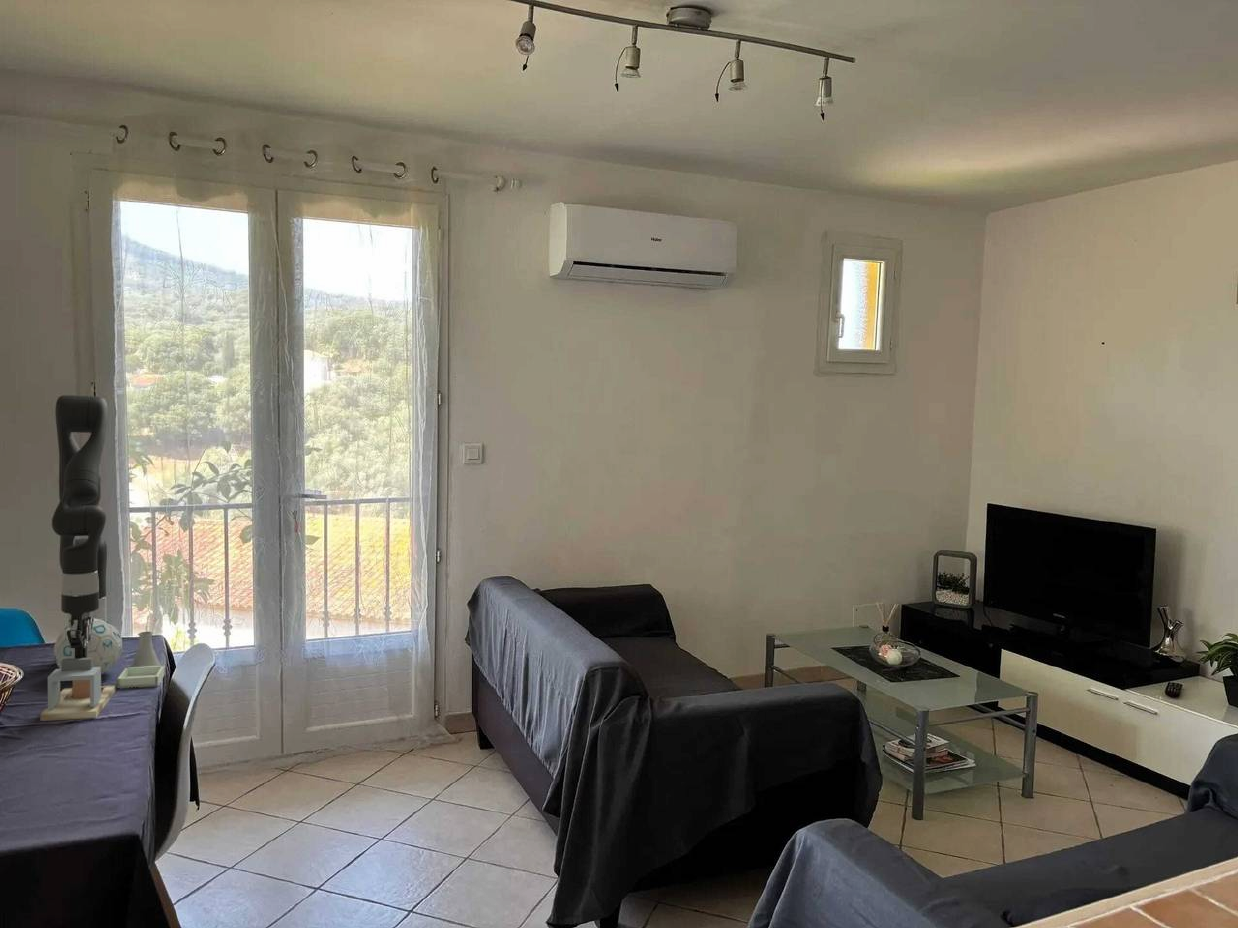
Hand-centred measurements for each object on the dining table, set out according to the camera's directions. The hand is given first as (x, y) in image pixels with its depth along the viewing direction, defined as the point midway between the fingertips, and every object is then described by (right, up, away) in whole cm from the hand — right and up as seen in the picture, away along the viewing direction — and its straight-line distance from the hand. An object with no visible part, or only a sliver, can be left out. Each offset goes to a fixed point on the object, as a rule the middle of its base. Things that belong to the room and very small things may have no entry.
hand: (80, 662), depth 205 cm
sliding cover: (+1, -9, -4) cm, 9 cm away
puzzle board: (0, -10, 0) cm, 10 cm away
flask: (+1, -8, +27) cm, 28 cm away
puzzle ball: (-10, -8, +20) cm, 24 cm away
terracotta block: (-2, -10, +4) cm, 11 cm away
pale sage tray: (+5, -9, +17) cm, 20 cm away
